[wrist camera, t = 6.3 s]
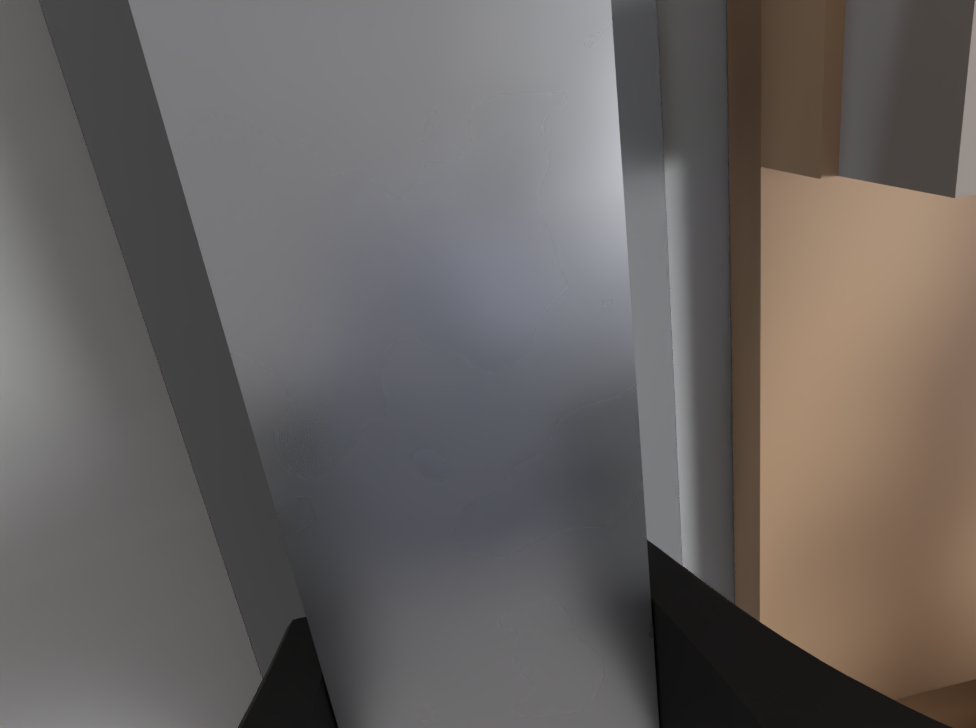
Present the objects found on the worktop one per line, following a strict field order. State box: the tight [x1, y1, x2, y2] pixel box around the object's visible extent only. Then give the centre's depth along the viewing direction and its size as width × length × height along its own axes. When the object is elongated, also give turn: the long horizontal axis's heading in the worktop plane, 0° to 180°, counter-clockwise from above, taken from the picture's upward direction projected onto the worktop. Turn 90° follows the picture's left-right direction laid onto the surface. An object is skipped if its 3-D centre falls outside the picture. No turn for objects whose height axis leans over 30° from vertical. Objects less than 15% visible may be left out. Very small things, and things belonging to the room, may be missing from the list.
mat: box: [39, 0, 682, 678], centre depth 13 cm, size 8×24×1 cm, turn 8°
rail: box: [128, 0, 659, 728], centre depth 11 cm, size 4×22×4 cm, turn 8°
